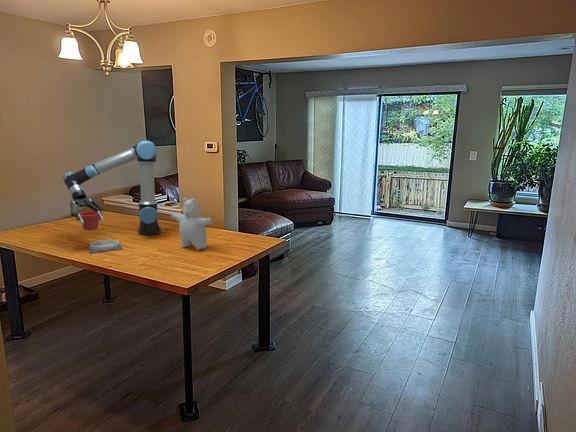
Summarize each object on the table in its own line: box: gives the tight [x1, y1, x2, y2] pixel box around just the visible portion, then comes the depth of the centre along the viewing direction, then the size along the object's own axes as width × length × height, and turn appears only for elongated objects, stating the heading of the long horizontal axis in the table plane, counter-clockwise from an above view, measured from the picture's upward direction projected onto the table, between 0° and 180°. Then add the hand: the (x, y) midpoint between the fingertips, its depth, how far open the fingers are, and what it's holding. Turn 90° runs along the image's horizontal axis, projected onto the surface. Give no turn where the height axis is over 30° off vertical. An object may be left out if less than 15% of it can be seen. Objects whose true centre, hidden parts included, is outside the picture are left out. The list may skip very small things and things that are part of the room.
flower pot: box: [79, 211, 100, 231], centre depth 241 cm, size 11×11×10 cm
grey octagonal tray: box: [87, 239, 124, 254], centre depth 245 cm, size 18×18×3 cm
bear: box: [170, 197, 214, 251], centre depth 245 cm, size 35×14×32 cm, turn 60°
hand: (92, 222), depth 239 cm, fingers closed on flower pot, 11 cm apart
